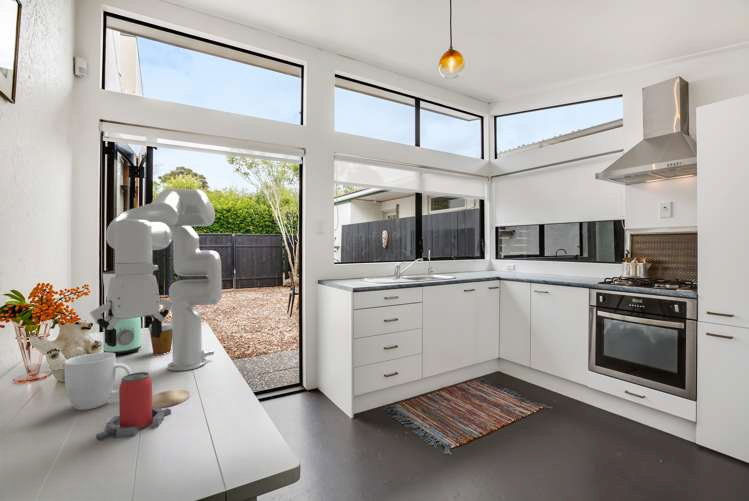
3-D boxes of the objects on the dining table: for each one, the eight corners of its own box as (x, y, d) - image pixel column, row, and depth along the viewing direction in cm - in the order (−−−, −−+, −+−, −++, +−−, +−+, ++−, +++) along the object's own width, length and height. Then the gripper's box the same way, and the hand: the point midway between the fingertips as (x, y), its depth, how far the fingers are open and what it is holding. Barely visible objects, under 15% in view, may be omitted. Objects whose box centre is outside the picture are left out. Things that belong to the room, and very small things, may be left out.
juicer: (146, 353, 148) (145, 269, 148) (106, 360, 139) (105, 270, 139) (136, 344, 162) (135, 268, 162) (99, 350, 153) (98, 269, 153)
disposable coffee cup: (160, 349, 154) (159, 321, 154) (180, 350, 152) (179, 322, 152) (142, 355, 144) (142, 326, 144) (164, 356, 143) (163, 326, 143)
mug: (135, 391, 107) (134, 348, 107) (128, 406, 97) (128, 358, 97) (72, 401, 100) (71, 355, 100) (58, 417, 90) (57, 366, 90)
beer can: (136, 433, 82) (135, 381, 82) (112, 431, 83) (111, 379, 83) (158, 420, 88) (158, 372, 88) (136, 418, 90) (136, 370, 90)
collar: (159, 408, 95) (158, 400, 95) (180, 417, 90) (180, 409, 90) (88, 433, 82) (88, 425, 82) (107, 446, 76) (107, 437, 76)
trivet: (176, 389, 108) (176, 387, 108) (197, 396, 102) (197, 394, 102) (136, 402, 99) (136, 400, 99) (157, 411, 93) (157, 409, 93)
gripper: (163, 268, 95) (163, 332, 95) (84, 272, 81) (84, 347, 81) (178, 269, 91) (179, 335, 91) (98, 272, 77) (98, 352, 76)
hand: (134, 341), depth 86 cm, fingers open, 9 cm apart
